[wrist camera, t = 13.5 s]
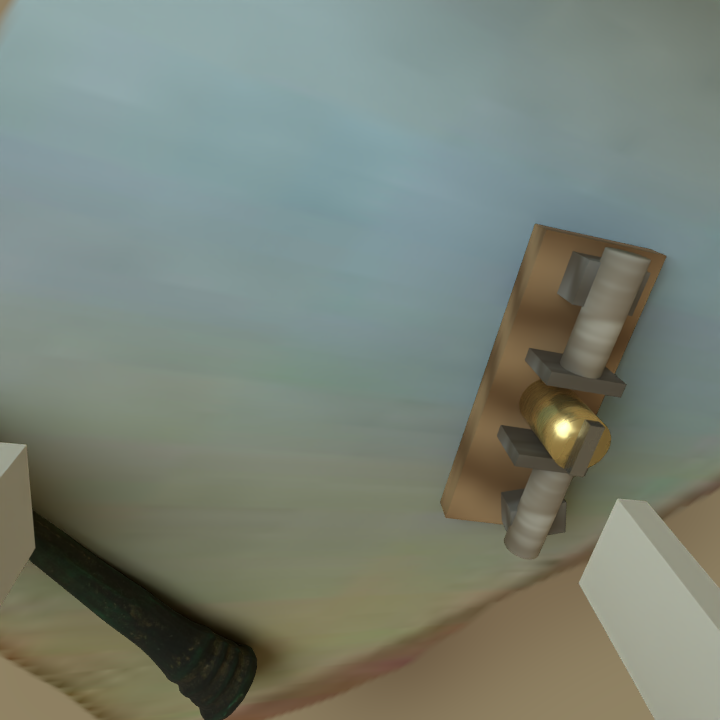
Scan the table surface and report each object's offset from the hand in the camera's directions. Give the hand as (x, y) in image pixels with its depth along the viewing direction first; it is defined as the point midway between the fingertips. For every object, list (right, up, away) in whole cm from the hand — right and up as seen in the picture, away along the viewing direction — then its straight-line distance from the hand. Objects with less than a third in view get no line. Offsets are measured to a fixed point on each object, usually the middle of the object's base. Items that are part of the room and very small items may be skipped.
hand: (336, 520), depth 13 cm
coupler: (+14, 0, +30) cm, 33 cm away
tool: (-21, -16, +36) cm, 45 cm away
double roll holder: (+14, +2, +31) cm, 34 cm away
